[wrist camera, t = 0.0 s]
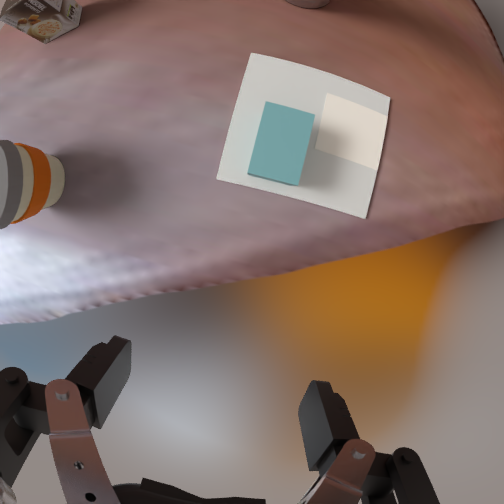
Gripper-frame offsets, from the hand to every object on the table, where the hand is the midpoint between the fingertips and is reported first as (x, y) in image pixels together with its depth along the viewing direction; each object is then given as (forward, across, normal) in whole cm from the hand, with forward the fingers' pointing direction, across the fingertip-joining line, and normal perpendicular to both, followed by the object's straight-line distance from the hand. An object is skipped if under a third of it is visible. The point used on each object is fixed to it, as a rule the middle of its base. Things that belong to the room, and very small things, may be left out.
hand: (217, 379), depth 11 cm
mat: (+29, -6, -18) cm, 35 cm away
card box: (+29, -2, -14) cm, 32 cm away
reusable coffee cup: (+30, +35, -3) cm, 46 cm away
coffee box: (+30, +45, -35) cm, 64 cm away
